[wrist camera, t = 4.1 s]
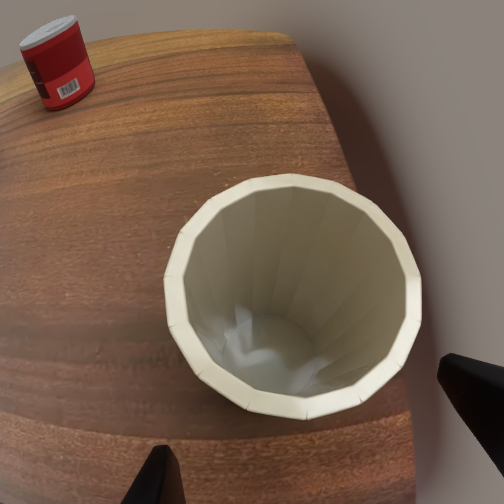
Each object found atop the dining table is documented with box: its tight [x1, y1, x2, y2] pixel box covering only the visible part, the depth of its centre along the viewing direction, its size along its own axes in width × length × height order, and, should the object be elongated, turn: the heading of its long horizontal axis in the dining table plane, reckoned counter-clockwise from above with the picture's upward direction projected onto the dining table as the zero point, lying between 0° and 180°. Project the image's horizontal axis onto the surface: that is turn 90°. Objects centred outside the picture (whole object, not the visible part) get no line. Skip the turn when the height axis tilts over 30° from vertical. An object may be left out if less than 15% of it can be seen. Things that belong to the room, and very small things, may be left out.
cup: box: [163, 173, 422, 420], centre depth 13 cm, size 6×6×13 cm
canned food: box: [19, 15, 95, 110], centre depth 29 cm, size 8×8×11 cm
